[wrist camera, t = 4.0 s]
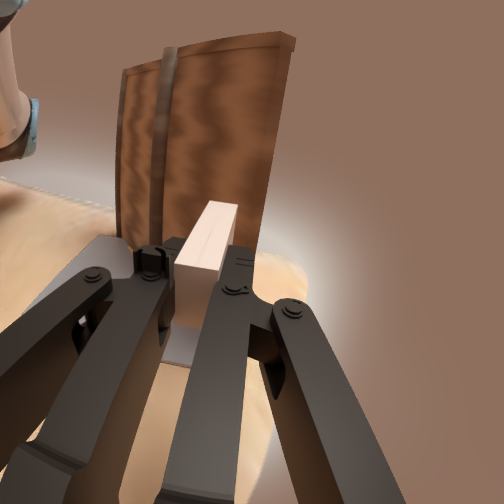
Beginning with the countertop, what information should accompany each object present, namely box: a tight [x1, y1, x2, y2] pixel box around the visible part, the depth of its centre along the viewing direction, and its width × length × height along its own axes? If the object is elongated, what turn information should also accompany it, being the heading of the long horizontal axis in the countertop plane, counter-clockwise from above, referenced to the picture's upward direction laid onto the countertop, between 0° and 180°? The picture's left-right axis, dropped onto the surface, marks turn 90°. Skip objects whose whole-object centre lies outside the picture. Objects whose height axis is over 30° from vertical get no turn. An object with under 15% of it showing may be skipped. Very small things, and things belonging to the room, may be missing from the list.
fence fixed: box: [115, 47, 180, 251], centre depth 32 cm, size 16×2×26 cm, turn 42°
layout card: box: [22, 234, 201, 368], centre depth 32 cm, size 20×20×1 cm
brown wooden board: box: [162, 31, 296, 254], centre depth 23 cm, size 12×1×25 cm, turn 42°
